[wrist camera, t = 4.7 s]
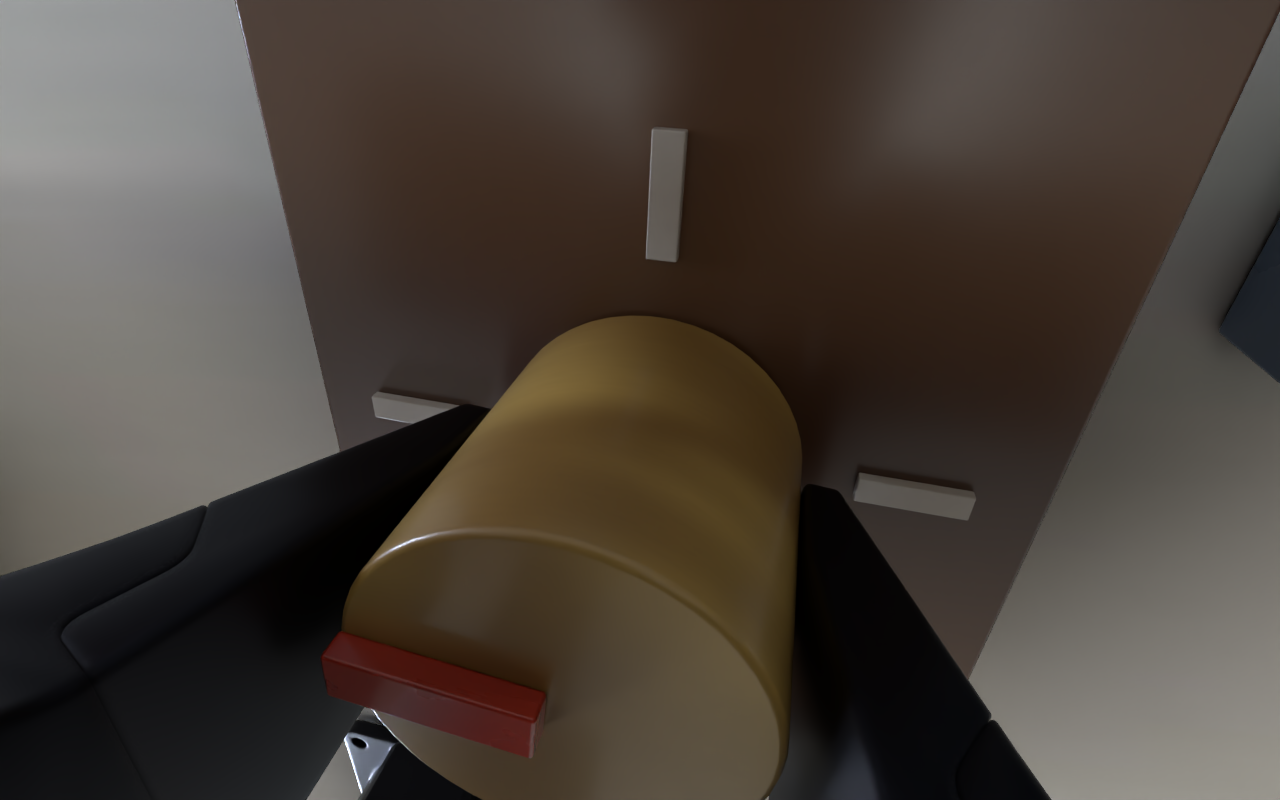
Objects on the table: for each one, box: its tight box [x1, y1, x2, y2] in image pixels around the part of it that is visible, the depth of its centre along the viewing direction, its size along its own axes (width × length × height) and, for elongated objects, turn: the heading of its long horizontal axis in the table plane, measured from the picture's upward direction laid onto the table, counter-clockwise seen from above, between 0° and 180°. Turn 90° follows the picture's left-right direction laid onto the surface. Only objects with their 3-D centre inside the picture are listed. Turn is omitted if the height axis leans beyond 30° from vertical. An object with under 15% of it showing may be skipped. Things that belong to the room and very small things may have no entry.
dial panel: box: [235, 0, 1280, 679], centre depth 10 cm, size 12×10×3 cm
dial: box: [320, 316, 802, 800], centre depth 7 cm, size 4×4×4 cm
